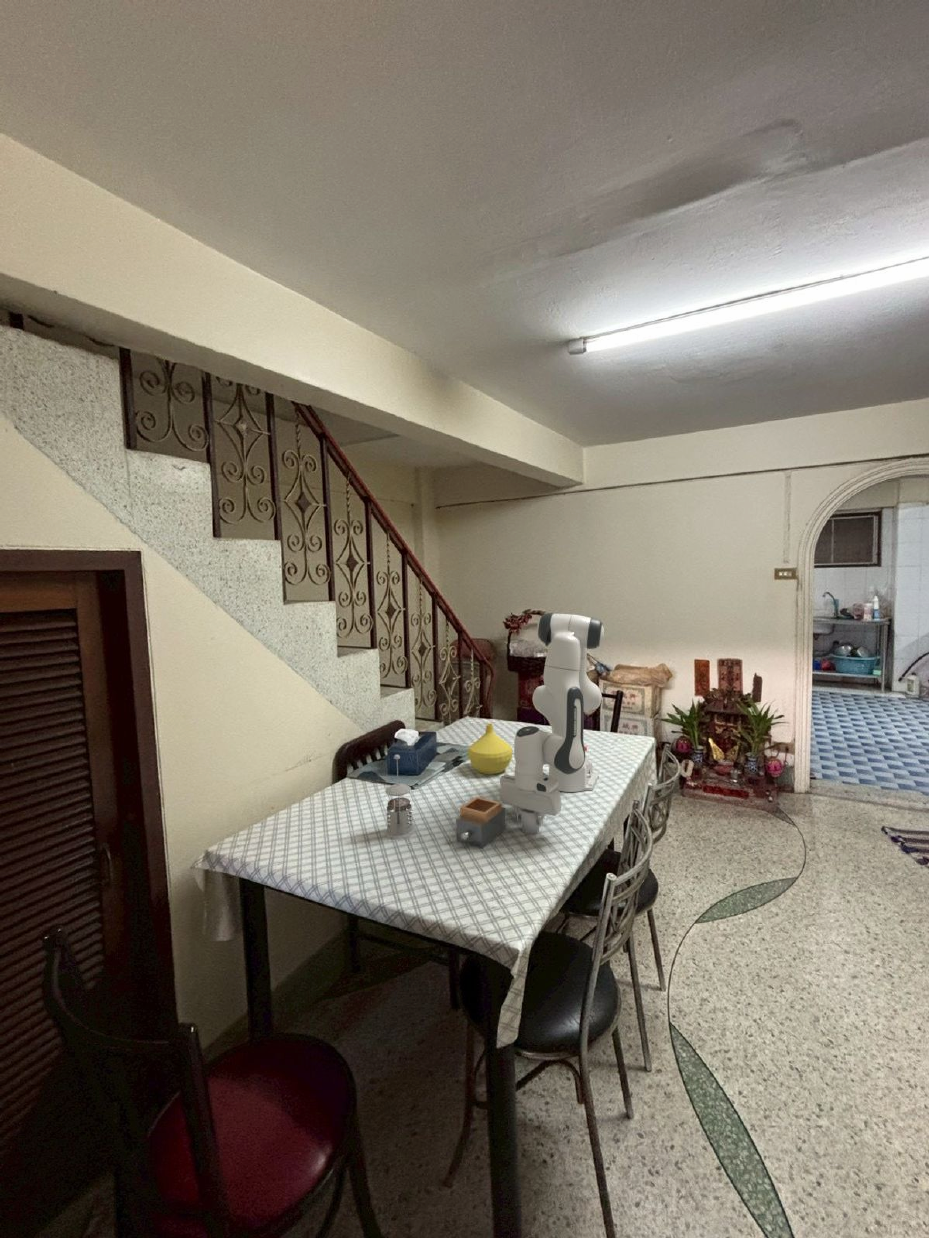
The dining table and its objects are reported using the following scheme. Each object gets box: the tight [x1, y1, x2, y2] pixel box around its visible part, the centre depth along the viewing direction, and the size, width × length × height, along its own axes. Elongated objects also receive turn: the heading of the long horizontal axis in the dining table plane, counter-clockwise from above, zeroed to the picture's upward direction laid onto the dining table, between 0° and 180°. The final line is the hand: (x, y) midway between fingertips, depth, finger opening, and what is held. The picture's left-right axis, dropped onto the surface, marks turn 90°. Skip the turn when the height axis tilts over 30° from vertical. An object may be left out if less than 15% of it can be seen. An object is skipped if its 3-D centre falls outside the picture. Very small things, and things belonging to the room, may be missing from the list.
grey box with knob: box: [455, 796, 507, 849], centre depth 166 cm, size 17×9×10 cm, turn 146°
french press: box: [384, 754, 416, 840], centre depth 169 cm, size 10×12×25 cm
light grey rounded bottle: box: [520, 809, 540, 834], centre depth 170 cm, size 6×6×8 cm
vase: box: [467, 723, 514, 775], centre depth 222 cm, size 18×18×19 cm
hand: (530, 822), depth 170 cm, fingers closed on light grey rounded bottle, 5 cm apart
